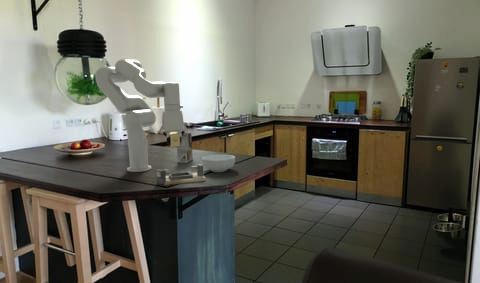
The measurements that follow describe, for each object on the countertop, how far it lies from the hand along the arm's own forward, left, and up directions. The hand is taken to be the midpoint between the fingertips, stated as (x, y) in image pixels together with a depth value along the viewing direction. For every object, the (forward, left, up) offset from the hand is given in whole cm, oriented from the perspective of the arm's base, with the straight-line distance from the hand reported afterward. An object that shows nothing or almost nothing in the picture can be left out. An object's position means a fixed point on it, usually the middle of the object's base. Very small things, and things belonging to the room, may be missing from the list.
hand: (174, 144), depth 179 cm
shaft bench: (+12, 0, -15) cm, 19 cm away
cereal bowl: (+2, +22, -15) cm, 27 cm away
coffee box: (-29, +11, -15) cm, 35 cm away
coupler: (0, 0, 0) cm, 0 cm away
